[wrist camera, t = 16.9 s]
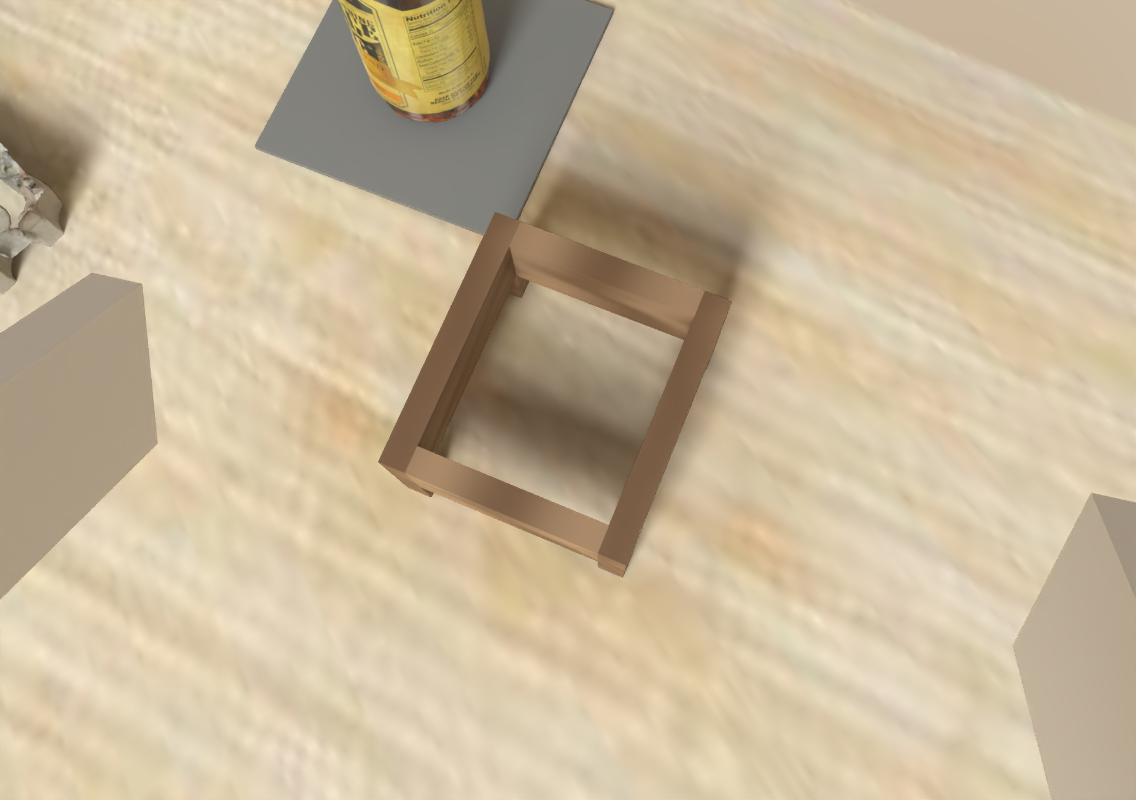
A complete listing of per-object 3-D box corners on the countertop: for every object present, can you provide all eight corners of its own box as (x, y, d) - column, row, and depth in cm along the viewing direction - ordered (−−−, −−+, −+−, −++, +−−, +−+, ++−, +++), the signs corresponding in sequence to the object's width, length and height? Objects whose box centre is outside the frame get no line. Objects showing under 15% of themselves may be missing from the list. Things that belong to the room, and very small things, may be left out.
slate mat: (613, 13, 53) (613, 9, 53) (506, 244, 50) (506, 241, 50) (373, -70, 55) (372, -74, 54) (256, 149, 52) (254, 146, 51)
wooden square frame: (715, 346, 48) (731, 301, 42) (622, 577, 46) (625, 565, 40) (508, 267, 50) (495, 211, 43) (408, 487, 47) (378, 462, 41)
